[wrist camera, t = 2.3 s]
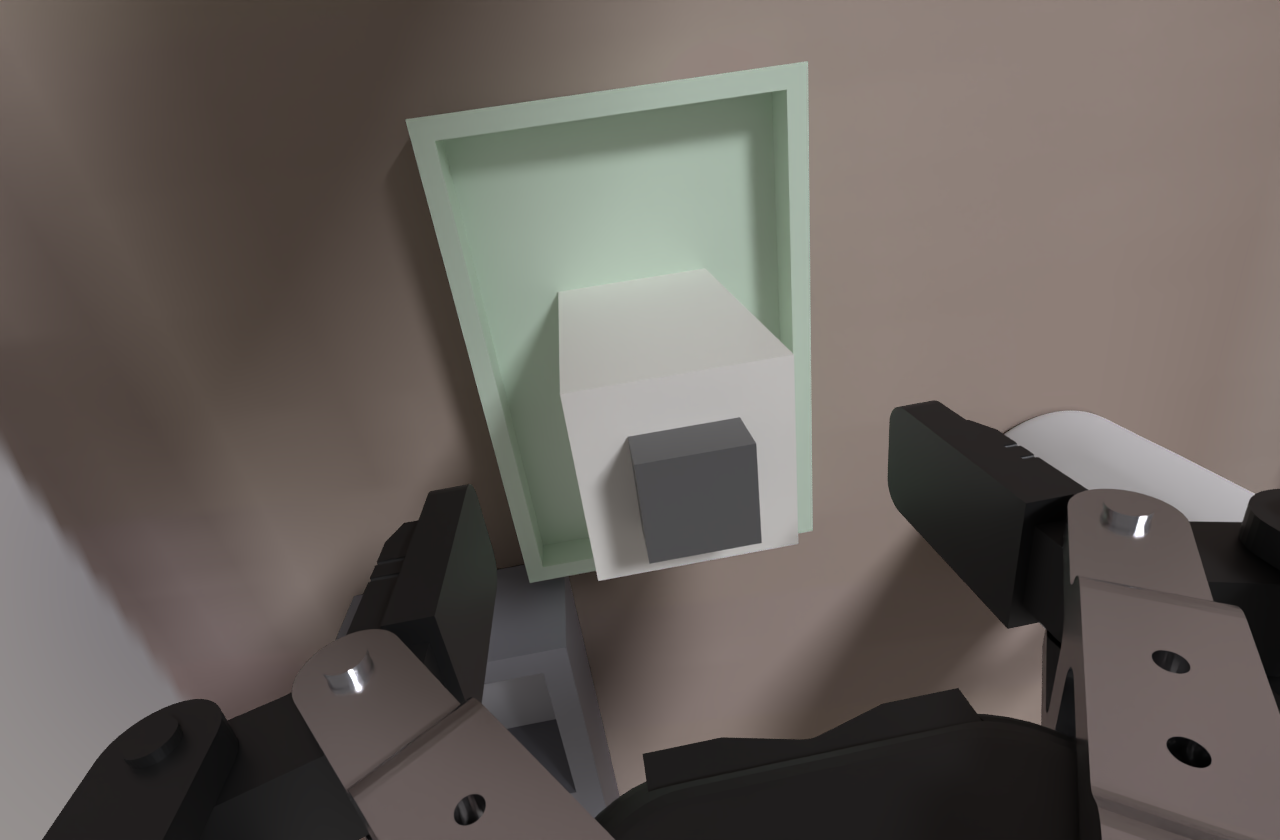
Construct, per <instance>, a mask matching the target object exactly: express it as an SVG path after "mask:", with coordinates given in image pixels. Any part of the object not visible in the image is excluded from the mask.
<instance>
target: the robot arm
mask: <svg viewBox="0 0 1280 840" xmlns="http://www.w3.org/2000/svg"><path fill="white" fill-rule="evenodd" d="M888 487H889V491H890V495H891V498H892V500H893V503H894V505H895V506H896V508H897V509H898V511H899V512H900V513H901V514H902V515H903V516H904V517H905V518H906V519H907V520H908V522H909V523H910V524H911V525H912V526H913V527H914V528H915V529H916V530H917V531H918V532H919V533H920V535H921V536H922V537H923V538H924V539H925V540H926V541H927V542H928V543H929V544H930V545H931V546H932V547H933V549H934V550H935V551H936V552H937V553H938V554H939V555H940V556H941V557H942V558H943V559H944V560H945V561H946V563H947V564H948V565H949V566H950V567H951V568H952V569H953V570H954V571H955V572H956V573H957V574H958V576H959V577H960V578H961V579H962V580H963V581H964V582H965V583H966V584H967V585H968V586H969V587H970V588H971V590H972V591H973V592H974V593H975V594H976V595H977V596H978V597H979V598H980V599H981V600H982V601H983V603H984V604H985V605H986V606H987V607H988V608H989V609H990V610H991V611H992V612H993V613H994V614H995V615H996V617H997V618H998V619H999V620H1000V621H1001V622H1002V623H1003V624H1004V625H1005V626H1006V627H1007V628H1008V629H1009V628H1014V627H1018V626H1023V625H1028V624H1033V623H1038V622H1040V623H1041V624H1042V625H1043V626H1044V627H1045V628H1046V629H1045V635H1044V640H1043V646H1042V705H1041V725H1038V724H1034V723H1031V722H1028V721H1023V720H1019V719H1014V718H1010V717H1003V716H996V715H988V714H977V713H976V712H975V710H974V709H973V708H972V706H971V705H970V704H969V702H968V701H967V699H966V698H965V697H964V695H963V694H962V693H961V691H960V690H959V689H958V688H956V689H952V690H947V691H942V692H937V693H932V694H928V695H923V696H918V697H913V698H909V699H904V700H899V701H894V702H889V703H885V704H881V705H879V706H877V707H875V708H873V709H871V710H869V711H867V712H865V713H863V714H861V715H859V716H857V717H855V718H853V719H852V720H850V721H848V722H846V723H844V724H842V725H840V726H838V727H836V728H834V729H832V730H830V731H828V732H826V733H824V734H822V735H820V736H817V737H815V738H812V739H805V740H795V739H758V738H717V739H712V740H708V741H703V742H698V743H693V744H689V745H684V746H679V747H674V748H669V749H665V750H660V751H655V752H650V753H645V754H643V759H644V766H645V773H646V780H647V781H646V782H644V783H642V784H640V785H638V786H636V787H634V788H632V789H631V790H629V791H628V792H626V793H625V794H623V795H622V796H620V797H619V798H617V799H616V800H614V801H613V802H612V803H611V804H610V805H608V806H607V807H606V808H605V809H604V810H602V811H601V812H600V813H599V814H598V815H597V816H596V817H595V818H593V817H592V816H591V815H590V814H589V813H588V812H587V810H586V809H585V808H584V807H583V806H582V805H581V804H580V803H579V802H578V801H577V800H576V799H575V798H574V797H573V796H572V795H571V794H570V793H569V792H568V791H567V790H566V789H565V788H564V787H563V786H562V785H561V784H560V783H559V782H558V781H557V780H556V779H555V778H554V777H553V776H552V775H551V774H550V773H549V772H548V771H547V770H546V769H545V768H544V767H543V766H542V765H541V764H540V762H539V761H538V760H537V759H536V758H535V757H534V756H533V755H532V754H531V753H530V752H529V751H528V750H527V749H526V748H525V747H524V746H523V745H522V744H521V743H520V742H519V741H518V740H517V739H516V738H515V737H514V736H513V735H512V734H511V733H510V732H509V731H508V730H507V729H506V728H505V727H504V726H503V725H502V724H501V723H500V722H499V721H498V720H497V719H496V718H495V717H494V716H493V714H492V713H491V712H490V711H489V710H488V709H487V708H486V707H485V706H484V705H483V704H482V697H483V690H484V682H485V675H486V667H487V659H488V652H489V644H490V636H491V629H492V621H493V613H494V606H495V598H496V590H497V569H496V562H495V557H494V552H493V549H492V545H491V542H490V539H489V535H488V532H487V528H486V525H485V522H484V518H483V515H482V511H481V508H480V504H479V501H478V498H477V495H476V492H475V490H474V488H473V486H472V485H471V484H468V485H462V486H457V487H451V488H446V489H441V490H435V491H430V492H429V493H428V496H427V498H426V501H425V504H424V507H423V510H422V512H421V515H420V518H419V520H418V521H413V522H407V523H404V524H403V525H402V526H401V527H400V528H399V529H398V530H397V531H396V532H395V533H394V534H393V535H392V536H391V537H390V538H389V539H388V540H387V541H386V542H385V544H384V547H383V549H382V551H381V554H380V556H379V558H378V561H377V564H378V565H376V566H375V568H374V570H373V573H372V575H371V577H370V579H371V582H368V584H367V587H366V589H365V591H364V594H363V596H362V599H361V601H360V603H359V606H358V608H357V610H356V613H355V615H354V617H353V620H352V622H351V625H350V627H349V629H348V632H347V634H346V636H344V637H341V638H339V639H337V640H335V641H333V642H332V643H330V644H328V645H327V646H325V647H324V648H322V649H321V650H320V651H318V652H317V653H316V654H314V655H313V656H312V657H311V658H310V659H309V660H308V661H307V662H306V663H305V665H304V666H303V667H302V668H301V669H300V671H299V673H298V674H297V676H296V678H295V680H294V682H293V686H292V693H290V694H288V695H286V696H283V697H281V698H279V699H277V700H275V701H272V702H270V703H268V704H265V705H263V706H261V707H258V708H256V709H254V710H251V711H249V712H247V713H244V714H242V715H240V716H237V717H235V718H233V719H230V720H228V721H227V719H226V718H225V716H224V714H223V713H222V711H221V709H220V708H219V706H218V705H217V704H216V703H214V702H212V701H210V700H204V699H193V700H187V701H183V702H179V703H176V704H173V705H170V706H168V707H165V708H163V709H161V710H159V711H157V712H154V713H152V714H151V715H149V716H147V717H145V718H144V719H142V720H140V721H139V722H137V723H136V724H134V725H133V726H131V727H130V728H129V729H127V730H126V731H125V732H124V733H122V734H121V735H120V736H119V737H118V738H116V739H115V740H114V741H113V742H112V743H111V744H110V745H109V746H108V747H107V748H106V749H105V750H104V752H103V753H102V754H101V755H100V756H99V758H98V759H97V760H96V761H95V763H94V764H93V766H92V767H91V769H90V770H89V771H88V773H87V774H86V776H85V777H84V779H83V780H82V782H81V783H80V785H79V786H78V788H77V789H76V791H75V792H74V794H73V795H72V797H71V798H70V799H69V801H68V802H67V804H66V805H65V807H64V808H63V810H62V811H61V813H60V814H59V816H58V817H57V818H56V820H55V822H54V823H53V825H52V826H51V828H50V829H49V830H48V832H47V834H46V835H45V836H44V838H43V839H42V840H359V839H361V838H363V837H365V838H366V840H1280V489H1273V490H1266V491H1262V492H1259V493H1257V494H1255V495H1253V496H1252V497H1251V498H1250V500H1249V503H1248V506H1247V509H1246V512H1245V515H1244V518H1243V521H1242V522H1198V521H1188V519H1187V518H1186V517H1185V515H1184V514H1183V513H1181V512H1180V511H1179V510H1178V509H1176V508H1175V507H1173V506H1172V505H1170V504H1168V503H1166V502H1164V501H1162V500H1159V499H1157V498H1154V497H1151V496H1148V495H1145V494H1141V493H1137V492H1133V491H1127V490H1120V489H1092V490H1088V489H1086V488H1085V487H1083V486H1082V485H1080V484H1079V483H1077V482H1076V481H1074V480H1073V479H1071V478H1070V477H1068V476H1067V475H1065V474H1064V473H1062V472H1061V471H1059V470H1057V469H1056V468H1054V467H1053V466H1051V465H1050V464H1048V463H1047V462H1045V461H1044V460H1042V459H1041V458H1039V457H1034V454H1033V453H1032V452H1030V451H1028V450H1027V449H1025V448H1024V447H1022V446H1017V443H1016V442H1015V441H1013V440H1012V439H1010V438H1009V437H1007V436H1006V435H1004V434H1003V433H1001V432H1000V431H998V430H996V429H994V428H991V427H988V426H985V425H982V424H979V423H976V422H973V421H970V420H965V419H964V418H962V417H961V416H959V415H958V414H956V413H955V412H953V411H952V410H950V409H949V408H948V407H946V406H945V405H943V404H942V403H940V402H938V401H928V402H923V403H917V404H912V405H906V406H901V407H896V408H895V409H894V410H893V411H892V413H891V416H890V426H889V455H888Z"/></svg>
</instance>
